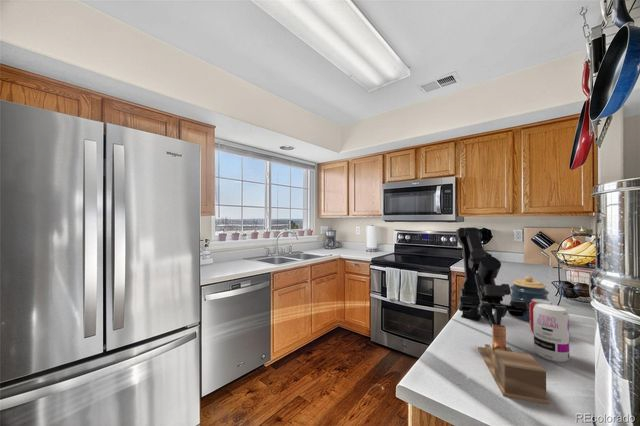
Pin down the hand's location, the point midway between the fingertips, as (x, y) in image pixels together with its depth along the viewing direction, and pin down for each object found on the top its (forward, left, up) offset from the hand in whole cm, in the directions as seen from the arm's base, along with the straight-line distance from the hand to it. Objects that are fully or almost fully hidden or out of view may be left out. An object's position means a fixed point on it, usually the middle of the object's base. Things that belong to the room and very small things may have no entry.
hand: (497, 332), depth 79 cm
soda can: (+9, +31, -8) cm, 33 cm away
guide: (+3, -7, -8) cm, 11 cm away
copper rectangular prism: (+3, -6, -7) cm, 10 cm away
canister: (+4, +48, -8) cm, 49 cm away
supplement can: (+12, +13, -8) cm, 19 cm away
